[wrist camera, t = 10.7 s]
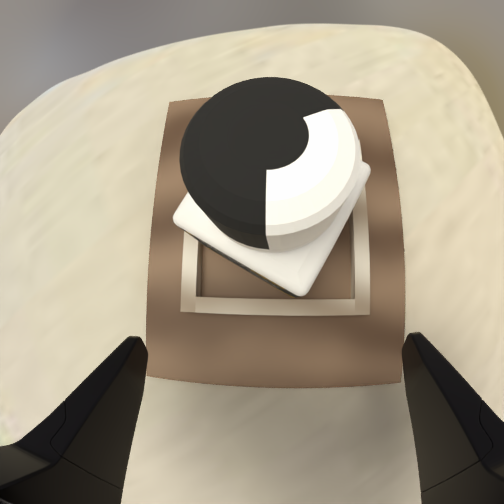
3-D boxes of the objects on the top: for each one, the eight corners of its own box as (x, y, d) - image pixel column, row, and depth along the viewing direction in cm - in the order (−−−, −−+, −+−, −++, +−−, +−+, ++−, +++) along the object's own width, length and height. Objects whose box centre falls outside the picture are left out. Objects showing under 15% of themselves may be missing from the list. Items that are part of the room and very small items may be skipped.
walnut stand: (395, 378, 19) (406, 386, 17) (153, 372, 21) (139, 379, 19) (379, 107, 23) (386, 91, 20) (173, 109, 24) (165, 94, 22)
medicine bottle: (204, 246, 21) (116, 181, 9) (257, 161, 21) (232, 36, 10) (296, 299, 20) (317, 298, 8) (346, 208, 20) (409, 108, 8)
